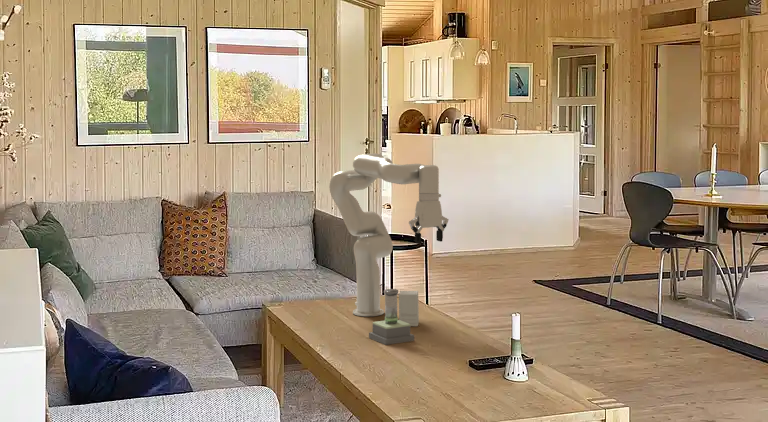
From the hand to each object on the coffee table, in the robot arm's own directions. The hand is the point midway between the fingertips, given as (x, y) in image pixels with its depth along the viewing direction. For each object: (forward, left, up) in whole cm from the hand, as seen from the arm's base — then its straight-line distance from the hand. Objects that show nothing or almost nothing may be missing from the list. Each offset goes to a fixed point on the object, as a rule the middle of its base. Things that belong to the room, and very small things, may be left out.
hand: (428, 242), depth 373 cm
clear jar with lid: (+12, -24, -26) cm, 38 cm away
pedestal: (+12, -24, -32) cm, 42 cm away
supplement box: (-5, -6, -32) cm, 33 cm away
